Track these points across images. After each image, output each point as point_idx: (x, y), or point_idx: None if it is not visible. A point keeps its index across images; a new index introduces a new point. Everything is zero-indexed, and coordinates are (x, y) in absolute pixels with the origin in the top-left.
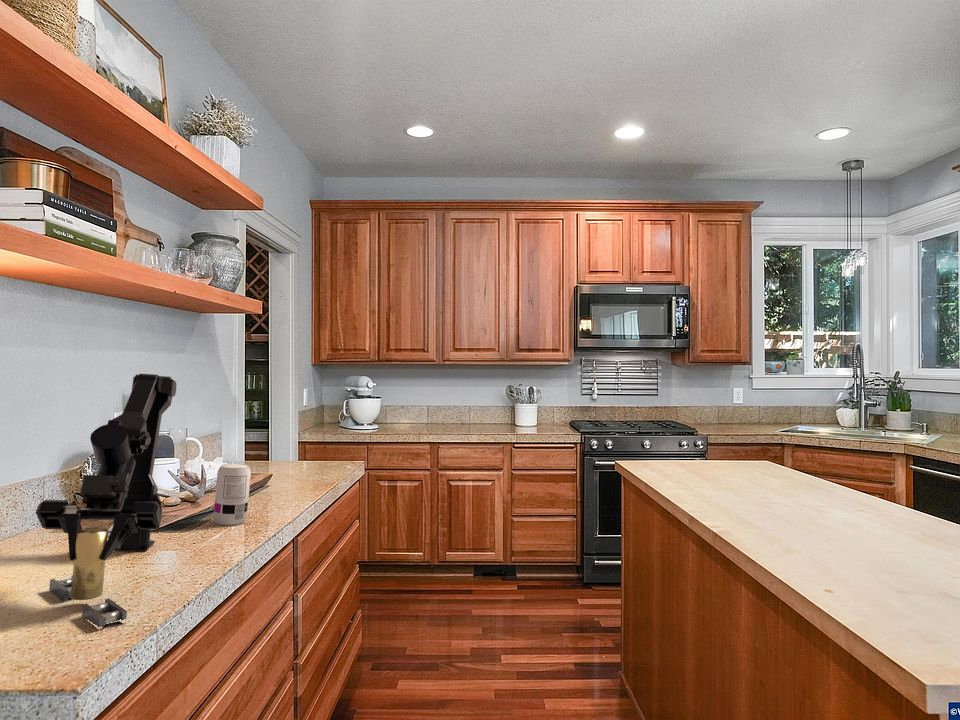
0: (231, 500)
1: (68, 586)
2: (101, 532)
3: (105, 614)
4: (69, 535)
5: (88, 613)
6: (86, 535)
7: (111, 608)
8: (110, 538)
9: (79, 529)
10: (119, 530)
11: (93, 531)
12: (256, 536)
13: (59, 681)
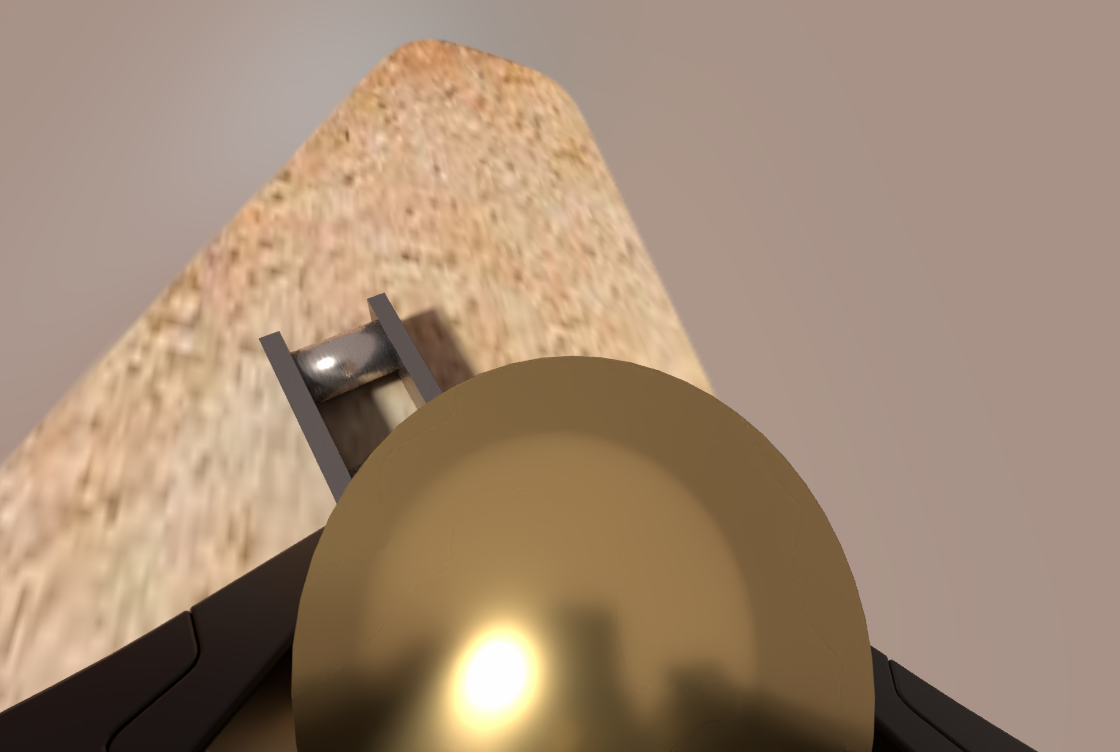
0: None
1: None
2: (420, 486)
3: (362, 332)
4: (926, 695)
5: None
6: (628, 369)
7: (340, 455)
8: (273, 606)
9: None
10: (2, 717)
11: (578, 563)
12: None
13: (458, 68)
